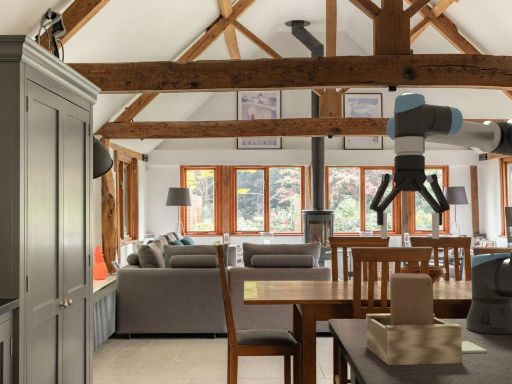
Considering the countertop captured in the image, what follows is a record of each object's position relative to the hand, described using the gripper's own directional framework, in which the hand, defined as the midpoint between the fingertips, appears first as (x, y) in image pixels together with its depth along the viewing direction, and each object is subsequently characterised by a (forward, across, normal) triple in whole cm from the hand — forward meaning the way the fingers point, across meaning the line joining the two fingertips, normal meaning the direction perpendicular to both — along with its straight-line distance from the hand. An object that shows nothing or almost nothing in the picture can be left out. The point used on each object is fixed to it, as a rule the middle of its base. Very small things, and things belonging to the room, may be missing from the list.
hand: (409, 238), depth 148 cm
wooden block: (+29, 0, 0) cm, 29 cm away
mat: (+29, -15, -5) cm, 33 cm away
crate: (+29, 0, 0) cm, 29 cm away
